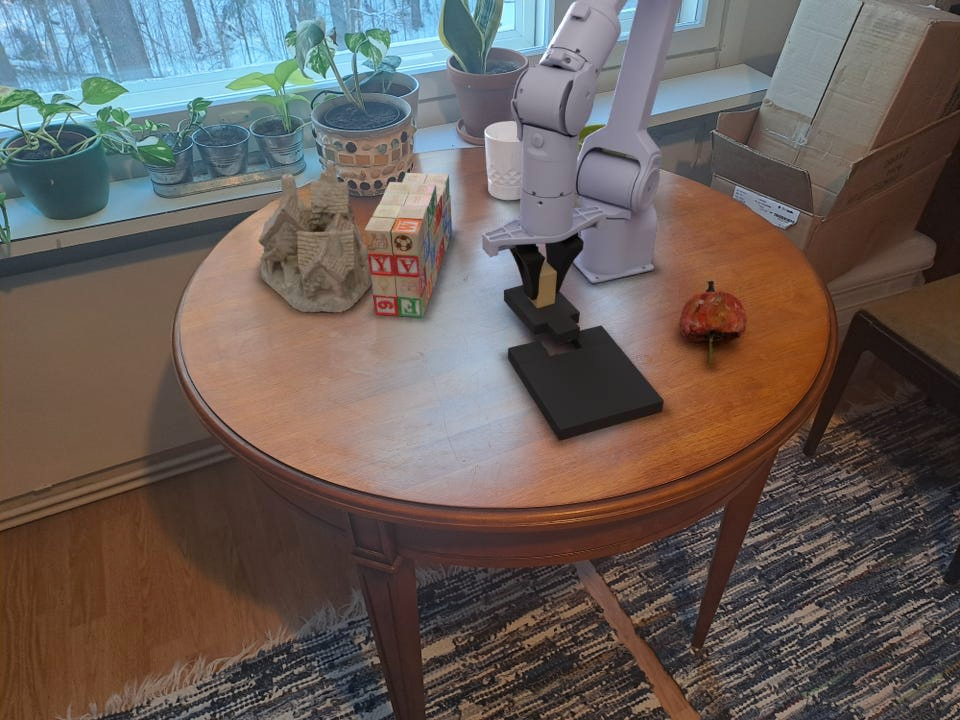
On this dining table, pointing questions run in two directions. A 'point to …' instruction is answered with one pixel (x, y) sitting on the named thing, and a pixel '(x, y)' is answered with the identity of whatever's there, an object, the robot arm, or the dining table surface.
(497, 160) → the white cup
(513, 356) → the big pad
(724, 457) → the dining table surface
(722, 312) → the pomegranate
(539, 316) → the small pad
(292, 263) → the ceramic cottage
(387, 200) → the stack of blocks
